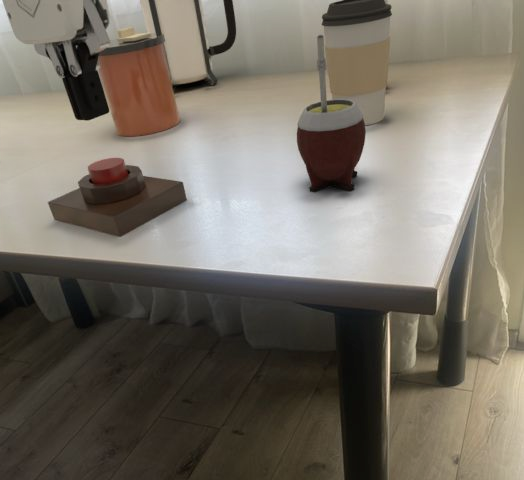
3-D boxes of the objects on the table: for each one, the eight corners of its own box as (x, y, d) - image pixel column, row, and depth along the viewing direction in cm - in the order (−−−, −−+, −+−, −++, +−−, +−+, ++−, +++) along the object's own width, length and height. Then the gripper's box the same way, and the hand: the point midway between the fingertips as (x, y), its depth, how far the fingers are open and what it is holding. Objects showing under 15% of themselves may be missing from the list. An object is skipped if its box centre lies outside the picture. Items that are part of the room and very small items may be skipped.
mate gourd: (338, 167, 62) (330, 18, 53) (385, 182, 56) (385, 18, 47) (286, 187, 59) (268, 33, 50) (330, 205, 54) (319, 35, 45)
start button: (85, 184, 59) (80, 168, 57) (113, 171, 61) (108, 156, 60) (107, 188, 56) (102, 171, 55) (136, 175, 59) (131, 159, 58)
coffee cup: (391, 125, 72) (392, -6, 63) (325, 132, 74) (317, 5, 65) (390, 108, 79) (391, -13, 70) (330, 114, 81) (323, -2, 72)
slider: (117, 42, 83) (115, 31, 82) (135, 37, 85) (132, 26, 84) (134, 41, 80) (131, 29, 79) (151, 36, 82) (149, 25, 81)
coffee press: (197, 94, 107) (160, -98, 89) (140, 95, 115) (95, -81, 97) (244, 74, 118) (220, -101, 100) (189, 76, 126) (157, -86, 108)
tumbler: (99, 135, 91) (73, 49, 83) (150, 115, 98) (130, 34, 90) (146, 139, 85) (121, 47, 77) (196, 117, 92) (179, 31, 84)
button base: (54, 220, 61) (41, 186, 59) (120, 188, 67) (110, 156, 65) (120, 237, 55) (108, 200, 52) (187, 200, 60) (179, 165, 58)
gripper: (-66, -97, 46) (23, 125, 57) (27, -140, 37) (110, 130, 48) (11, -102, 50) (80, 105, 61) (109, -141, 42) (168, 107, 52)
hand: (93, 116), depth 54 cm, fingers closed
